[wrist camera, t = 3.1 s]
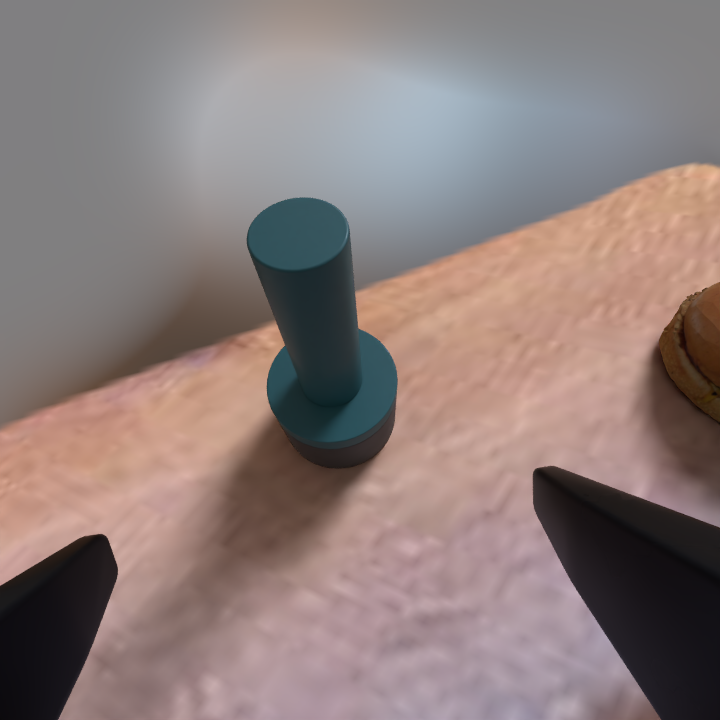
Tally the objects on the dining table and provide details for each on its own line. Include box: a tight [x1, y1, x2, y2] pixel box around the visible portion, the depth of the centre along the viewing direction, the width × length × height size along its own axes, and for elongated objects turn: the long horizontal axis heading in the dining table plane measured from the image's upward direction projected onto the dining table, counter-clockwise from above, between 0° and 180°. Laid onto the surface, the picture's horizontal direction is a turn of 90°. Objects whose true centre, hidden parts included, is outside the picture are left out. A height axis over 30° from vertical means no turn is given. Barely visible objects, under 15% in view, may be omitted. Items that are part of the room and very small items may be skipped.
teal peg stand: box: [247, 198, 398, 468], centre depth 18 cm, size 6×6×14 cm
